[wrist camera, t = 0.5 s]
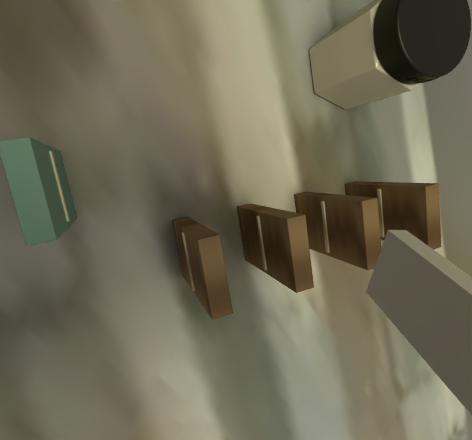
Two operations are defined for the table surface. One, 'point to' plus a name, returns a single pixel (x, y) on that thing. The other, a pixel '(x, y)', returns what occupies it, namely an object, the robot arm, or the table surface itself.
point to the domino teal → (38, 188)
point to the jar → (389, 49)
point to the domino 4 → (404, 208)
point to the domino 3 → (342, 226)
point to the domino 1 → (203, 265)
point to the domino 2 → (277, 244)
